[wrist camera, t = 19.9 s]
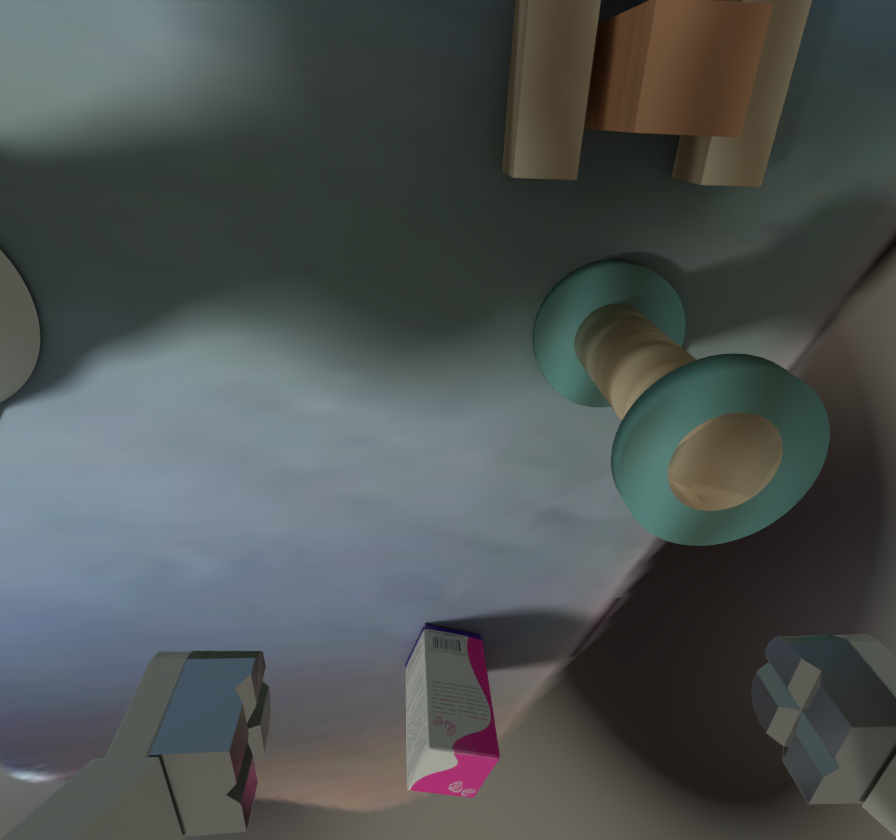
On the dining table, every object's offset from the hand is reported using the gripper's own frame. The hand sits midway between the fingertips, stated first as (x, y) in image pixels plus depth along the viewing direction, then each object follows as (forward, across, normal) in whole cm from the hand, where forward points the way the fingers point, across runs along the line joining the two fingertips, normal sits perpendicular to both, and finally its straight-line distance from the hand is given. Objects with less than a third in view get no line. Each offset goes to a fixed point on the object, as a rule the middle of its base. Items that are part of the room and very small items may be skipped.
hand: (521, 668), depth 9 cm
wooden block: (+31, -11, -10) cm, 35 cm away
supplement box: (+31, -2, +36) cm, 48 cm away
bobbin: (+31, -12, +5) cm, 34 cm away
